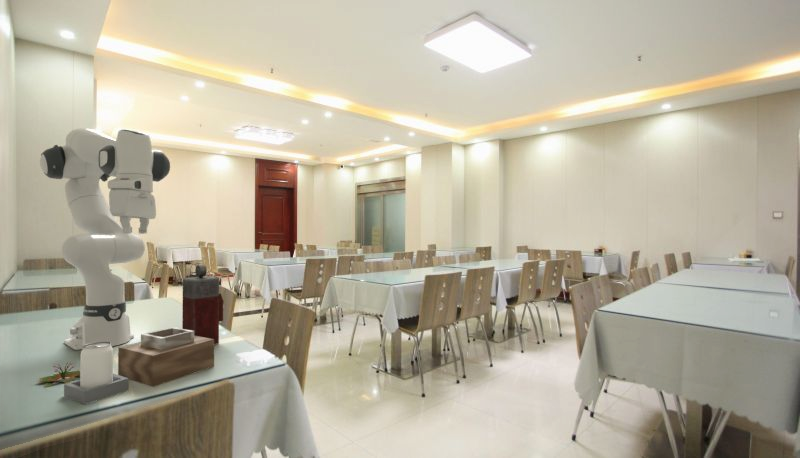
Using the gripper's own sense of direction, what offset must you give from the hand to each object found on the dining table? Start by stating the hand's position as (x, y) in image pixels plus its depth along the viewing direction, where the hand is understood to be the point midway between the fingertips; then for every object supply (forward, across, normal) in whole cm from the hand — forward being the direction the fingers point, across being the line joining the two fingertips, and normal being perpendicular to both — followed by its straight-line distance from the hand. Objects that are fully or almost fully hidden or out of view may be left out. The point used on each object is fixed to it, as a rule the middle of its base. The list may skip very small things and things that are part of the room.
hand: (135, 233), depth 118 cm
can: (+40, +16, -2) cm, 43 cm away
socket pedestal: (+39, +2, +9) cm, 40 cm away
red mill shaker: (+39, -27, +10) cm, 49 cm away
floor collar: (+39, +16, -2) cm, 43 cm away
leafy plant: (+40, +4, -16) cm, 43 cm away
